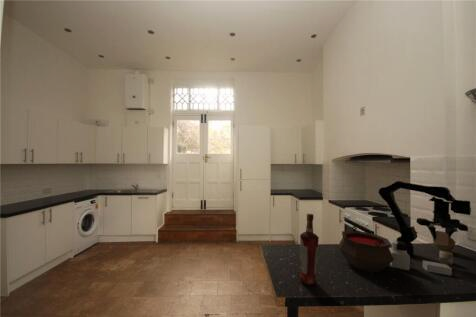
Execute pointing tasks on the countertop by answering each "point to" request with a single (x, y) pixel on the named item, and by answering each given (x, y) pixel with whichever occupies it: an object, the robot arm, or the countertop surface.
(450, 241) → the natural sponge
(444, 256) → the round birch brick
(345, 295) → the countertop surface
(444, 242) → the terracotta tall brick
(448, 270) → the long grey brick
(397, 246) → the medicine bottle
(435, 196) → the robot arm
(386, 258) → the brown pot
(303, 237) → the liquor
